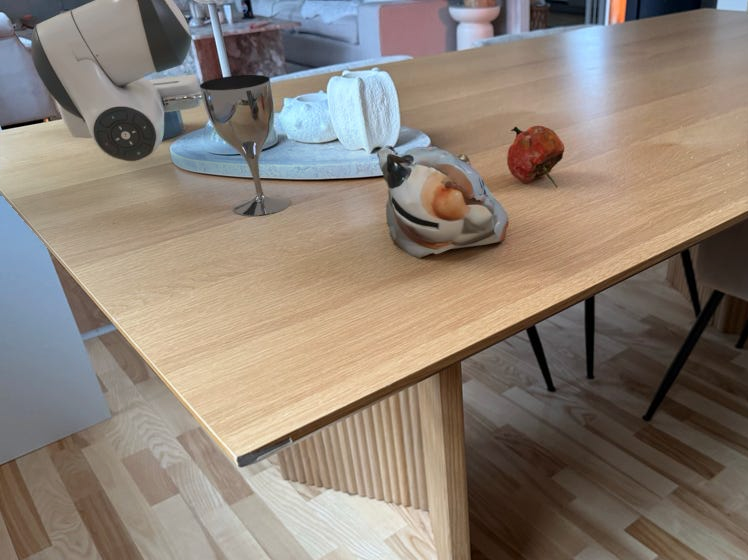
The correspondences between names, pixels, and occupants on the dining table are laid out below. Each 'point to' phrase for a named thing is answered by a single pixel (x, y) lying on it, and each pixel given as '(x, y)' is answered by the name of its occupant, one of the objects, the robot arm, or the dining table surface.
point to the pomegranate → (534, 153)
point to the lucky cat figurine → (438, 202)
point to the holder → (173, 124)
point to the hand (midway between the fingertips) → (133, 87)
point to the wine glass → (245, 129)
